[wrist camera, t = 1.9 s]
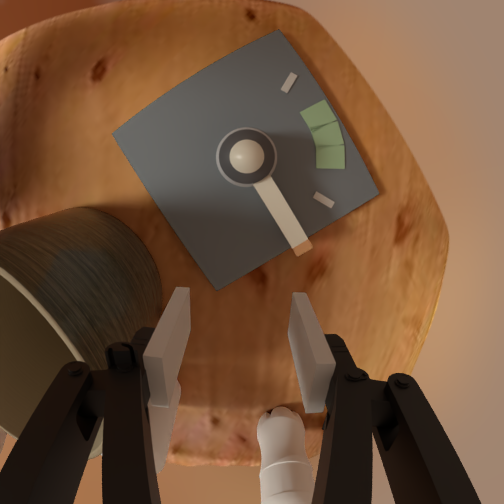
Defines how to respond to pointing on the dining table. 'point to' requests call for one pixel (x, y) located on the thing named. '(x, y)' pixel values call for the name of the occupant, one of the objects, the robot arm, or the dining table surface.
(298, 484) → the water bottle
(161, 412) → the potion bottle
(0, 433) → the vase
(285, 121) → the dial board
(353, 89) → the dining table surface
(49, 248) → the planter
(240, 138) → the peg lever
